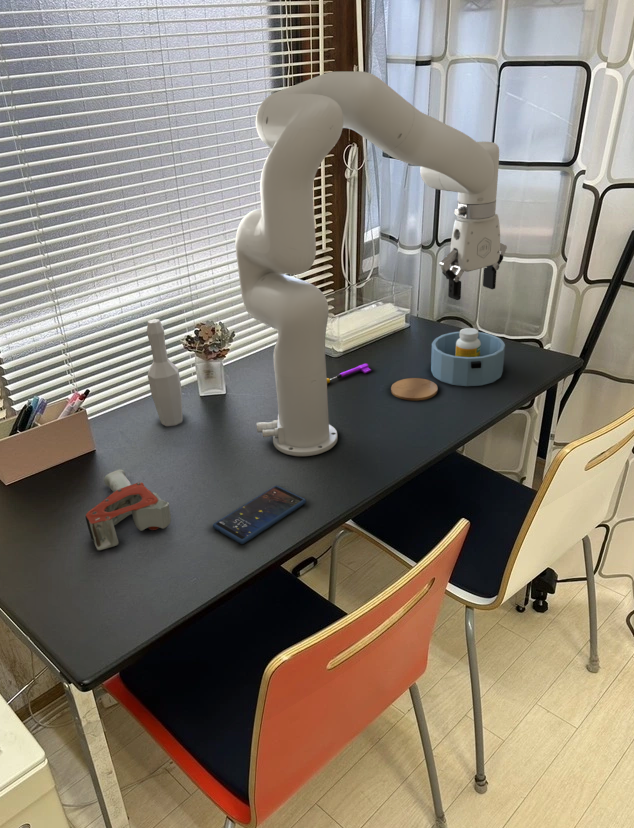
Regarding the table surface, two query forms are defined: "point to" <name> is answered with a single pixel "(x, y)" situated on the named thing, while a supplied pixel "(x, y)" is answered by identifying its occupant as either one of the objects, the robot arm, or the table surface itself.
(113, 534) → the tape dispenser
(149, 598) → the table surface
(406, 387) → the coaster
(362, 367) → the pneumatic cylinder
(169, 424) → the faceted bottle
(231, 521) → the smartphone
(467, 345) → the supplement bottle
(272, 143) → the robot arm
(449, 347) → the bowl
